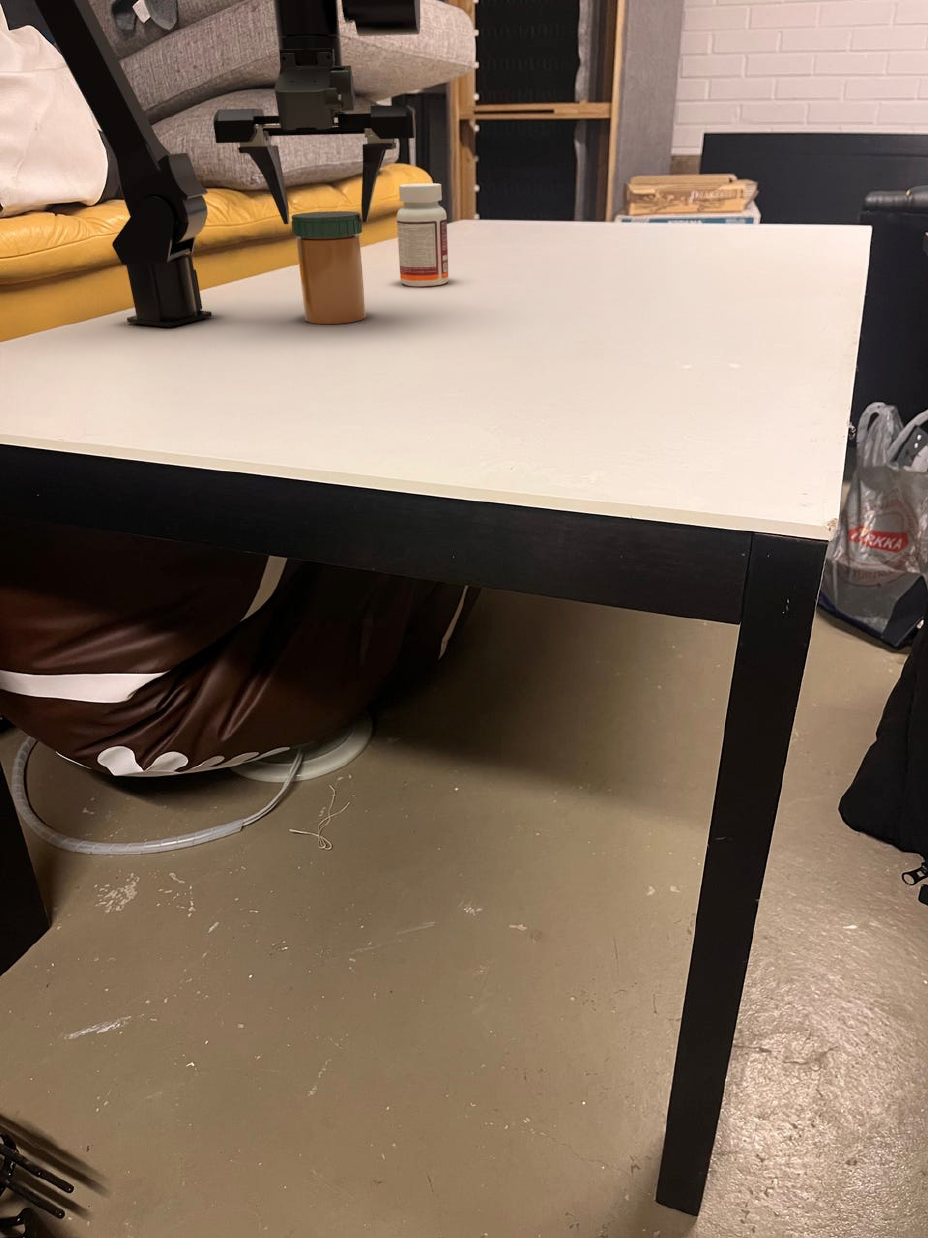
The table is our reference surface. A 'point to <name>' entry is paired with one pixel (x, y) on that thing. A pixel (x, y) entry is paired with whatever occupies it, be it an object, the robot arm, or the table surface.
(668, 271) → the table surface
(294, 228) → the jar lid
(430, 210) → the pill bottle
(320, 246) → the jar
